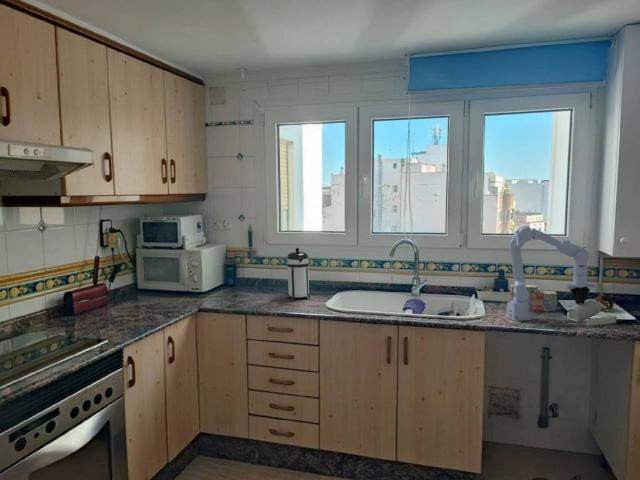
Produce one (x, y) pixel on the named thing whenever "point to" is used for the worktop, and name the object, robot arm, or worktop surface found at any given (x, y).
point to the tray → (597, 319)
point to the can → (585, 310)
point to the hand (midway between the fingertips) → (579, 303)
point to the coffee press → (298, 274)
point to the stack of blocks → (539, 298)
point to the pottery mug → (605, 301)
